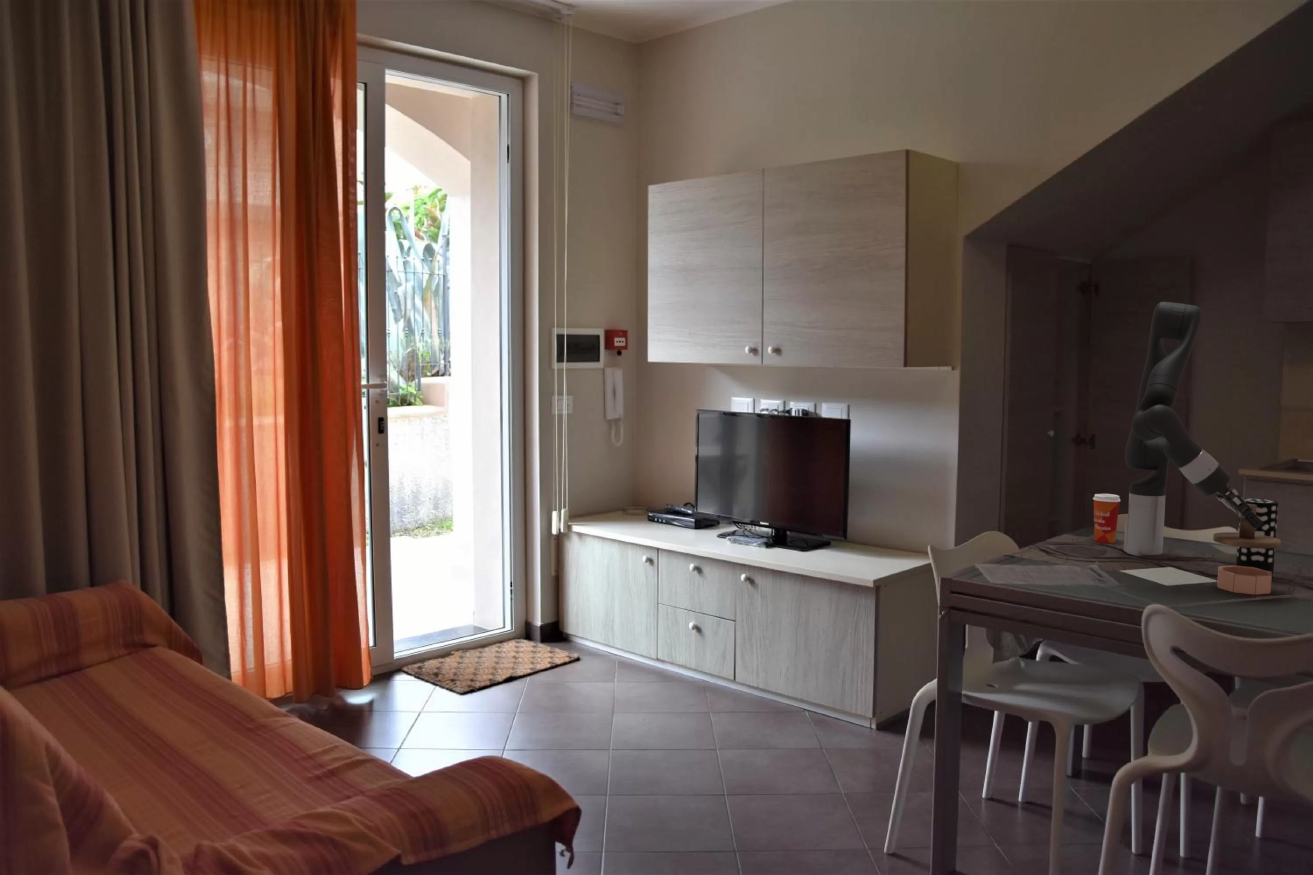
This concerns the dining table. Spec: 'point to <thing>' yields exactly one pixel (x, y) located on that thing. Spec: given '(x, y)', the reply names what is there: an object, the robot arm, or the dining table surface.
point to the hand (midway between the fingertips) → (1257, 524)
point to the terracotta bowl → (1244, 580)
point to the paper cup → (1105, 517)
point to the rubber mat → (1169, 576)
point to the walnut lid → (1247, 536)
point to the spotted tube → (1268, 516)
